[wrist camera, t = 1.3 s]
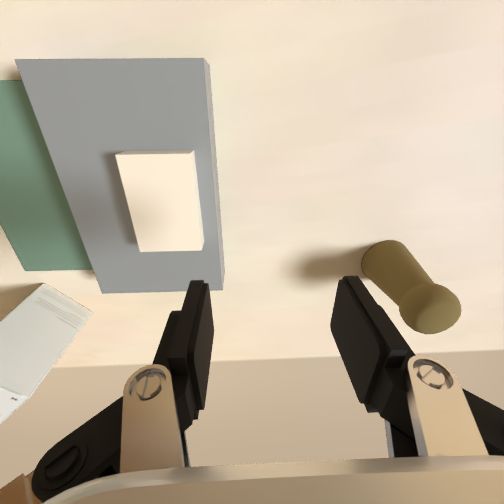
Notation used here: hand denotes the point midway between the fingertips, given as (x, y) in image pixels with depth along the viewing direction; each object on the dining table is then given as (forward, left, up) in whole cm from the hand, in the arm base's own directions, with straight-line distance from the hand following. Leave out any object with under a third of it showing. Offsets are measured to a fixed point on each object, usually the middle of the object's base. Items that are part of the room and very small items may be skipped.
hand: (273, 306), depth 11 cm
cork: (+10, +17, -20) cm, 28 cm away
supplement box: (+17, -28, -20) cm, 38 cm away
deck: (0, -11, -20) cm, 22 cm away
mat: (0, -24, -20) cm, 31 cm away
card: (0, -9, -16) cm, 18 cm away
